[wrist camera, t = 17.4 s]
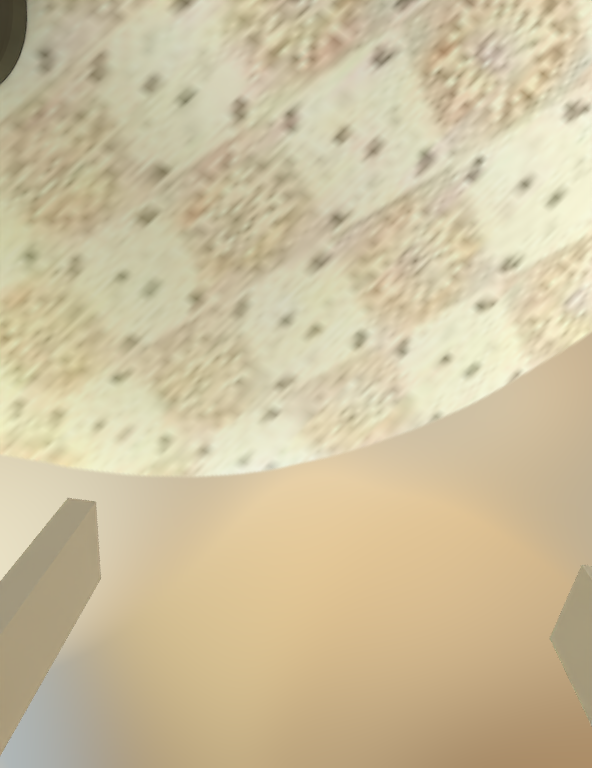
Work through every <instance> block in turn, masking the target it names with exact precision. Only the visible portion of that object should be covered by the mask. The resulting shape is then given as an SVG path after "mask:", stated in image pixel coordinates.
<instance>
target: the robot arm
mask: <svg viewBox="0 0 592 768" xmlns="http://www.w3.org/2000/svg"><path fill="white" fill-rule="evenodd" d="M25 28H26V2H25V0H0V83H1V82H2V81H3V80H4V79H5V78H6V77H7V75H8V74H9V73H10V71H11V70H12V68H13V67H14V65H15V63H16V61H17V59H18V56H19V54H20V51H21V48H22V44H23V40H24V35H25ZM100 579H101V574H100V558H99V542H98V526H97V512H96V502H94V501H87V500H79V499H72V498H68V499H67V500H66V501H65V502H64V504H63V505H62V506H61V507H60V509H59V510H58V511H57V512H56V514H55V515H54V516H53V517H52V518H51V520H50V521H49V522H48V523H47V525H46V526H45V527H44V528H43V529H42V531H41V532H40V533H39V534H38V536H37V537H36V538H35V539H34V540H33V542H32V543H31V544H30V545H29V547H28V548H27V549H26V550H25V552H24V553H23V554H22V556H21V557H20V558H19V559H18V560H17V561H16V563H15V564H14V565H13V566H12V568H11V569H10V570H9V571H8V573H7V574H6V575H5V576H4V577H3V579H2V580H1V581H0V755H1V754H2V752H3V750H4V748H5V747H6V745H7V743H8V741H9V739H10V738H11V736H12V734H13V733H14V731H15V729H16V727H17V726H18V724H19V722H20V720H21V718H22V717H23V715H24V713H25V711H26V710H27V708H28V706H29V704H30V703H31V701H32V699H33V697H34V696H35V694H36V692H37V690H38V689H39V687H40V685H41V683H42V682H43V680H44V678H45V676H46V674H47V673H48V671H49V669H50V667H51V666H52V664H53V662H54V660H55V659H56V657H57V655H58V653H59V652H60V650H61V648H62V646H63V645H64V643H65V641H66V639H67V637H68V636H69V634H70V632H71V630H72V629H73V627H74V625H75V623H76V622H77V620H78V618H79V616H80V614H81V613H82V611H83V609H84V607H85V606H86V604H87V602H88V600H89V599H90V597H91V595H92V593H93V592H94V590H95V588H96V586H97V585H98V583H99V581H100ZM550 640H551V642H552V644H553V647H554V649H555V651H556V653H557V655H558V657H559V659H560V661H561V663H562V665H563V667H564V670H565V672H566V674H567V676H568V678H569V680H570V682H571V684H572V686H573V688H574V690H575V693H576V695H577V697H578V699H579V701H580V703H581V705H582V707H583V710H584V712H585V714H586V716H587V718H588V720H589V722H590V724H591V726H592V566H586V565H582V566H581V568H580V571H579V573H578V575H577V577H576V579H575V582H574V584H573V586H572V588H571V591H570V593H569V595H568V598H567V600H566V602H565V604H564V607H563V609H562V611H561V613H560V615H559V618H558V620H557V622H556V625H555V627H554V629H553V631H552V633H551V636H550Z"/></svg>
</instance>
